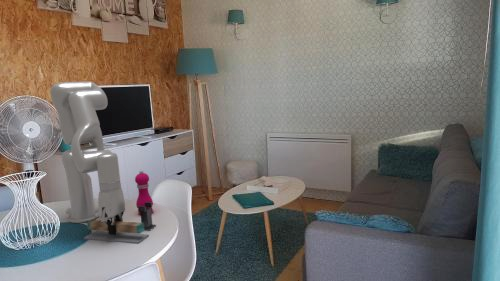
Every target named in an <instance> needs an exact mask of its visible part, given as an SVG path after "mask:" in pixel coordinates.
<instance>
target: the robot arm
mask: <svg viewBox="0 0 500 281" xmlns="http://www.w3.org/2000/svg"><path fill="white" fill-rule="evenodd" d="M49 91H50V92H49V93H50V100H51V102H52V104H53V106H54V109H55V110H56V112H57V115H58V121H59V126H60V132H61V137H62V141H63V143H64V144H65V145H67V146H70V148H69V149H67V150H65V151H64V152H63V153H62V155H61V162H62V166H63V169H64V172H65V176H66V181H67V187H68V188H67V189H68V195H69V202H70V207H68V208H67V210H66V211H65V214H69V217H68V222H70V223H74V224H79V223H80V224H81V223H87V222H89V221H91V220H97V219H98V218H100V220H101V222H104V223H106V225H108V233H109V235H116V234H117V232H116V224H114V221H121V220H122V219H123V220H124V218H123V217H124V214H125V212H126V202H125V196H124V192H123V188H122V183H121V176H120V175H121V174H120V168H119V166H120V165H119V158H118V155H117V153H116V152H112V151H111V150H109V149H105V147H104V146H105V145H104V139H103V132H102V129H101V127H100V125H101V124H100V120H99V117H98V115H97V112H96V111H100V110H101V111H102V110H105V109H106V108H107V106H108V104H109V103H108V101H109V100H108V97H107V95H106V93H105V91H104V90H103V89H102V87H100V86H98V84H96V83H95V82H93V81H91V80H90V81H89V80H88V81H85V80H84V81H83V80H82V81H61V82H57V83H54V84H53V85H51V87H50V89H49ZM83 144H84V145H85V144H90V145H88V146H81V145H83ZM93 172H97V179H98V186H99V192H98V198H97V200H98V202H97V204H98V206H97V208H98V211H97V210H96V207H95V198H94V192H93V184H92V178H91V176H90V174H88V173H93ZM114 218H115V220H114Z"/></svg>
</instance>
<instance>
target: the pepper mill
mask: <svg viewBox="0 0 500 281" xmlns="http://www.w3.org/2000/svg"><path fill="white" fill-rule="evenodd" d="M149 181H150V176H149V175H148V174H147V173H145V172H144V170H143V169H140V170H139V172H138V174H136V175H135V178H134V182H135V183H136V188H137V190H138V195H137V199H136V208H137V209H138V206H145V202H152V206H153V205H154V200H153V198H152V197H151V195H150V193H149ZM146 208H147V207H146ZM153 209H154V208H153V207H152V208H151V213H152V214H154V210H153ZM137 211H138V210H137ZM137 214H138V215H139V216H141V214H140V211H138V212H137Z"/></svg>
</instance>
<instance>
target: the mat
mask: <svg viewBox="0 0 500 281" xmlns="http://www.w3.org/2000/svg"><path fill="white" fill-rule="evenodd" d="M149 236H150V235H149V234H146V233H140V234H138V233H124V232H117V234H116V235H109V233H108V231H97V230H94V231H93V232H91V233H89V234H88V235H86V236H84V237H83V240H87V241H88V240H89V241H90V240H91V241H103V242H113V243H114V242H115V243H124V244H137V245H138V244H140V243H141V242H143V241H144V240H145V239H147V238H148V237H149Z"/></svg>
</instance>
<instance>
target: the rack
mask: <svg viewBox="0 0 500 281" xmlns="http://www.w3.org/2000/svg"><path fill="white" fill-rule="evenodd" d="M146 207H147V208H146ZM151 208H152V209H153V205H152V202H145V206H138V208H137V211H140V214H141V215H140V221H141V222H140V223H144V231H146V230H147V231H148V232H149V231H152V230H153V229H155V228H156V225H157V224H153V219H152V218H153V216H152V214H151ZM114 220H115V218H114ZM121 221H122V222H124V218H123V219H122V220H121ZM154 227H155V228H154ZM151 229H152V230H151Z"/></svg>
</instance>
